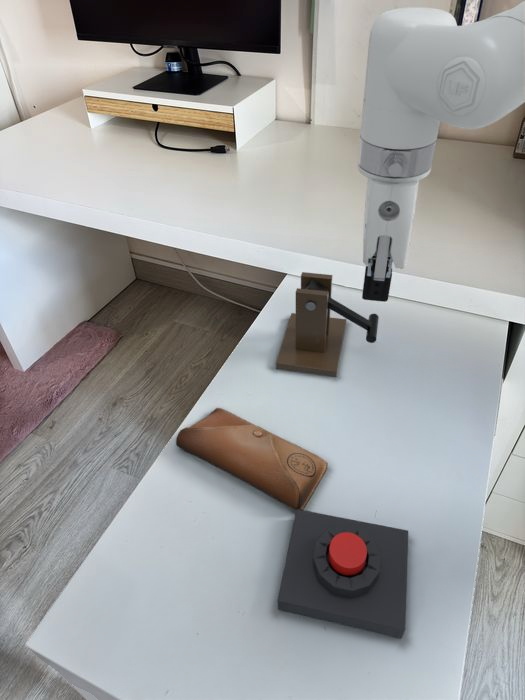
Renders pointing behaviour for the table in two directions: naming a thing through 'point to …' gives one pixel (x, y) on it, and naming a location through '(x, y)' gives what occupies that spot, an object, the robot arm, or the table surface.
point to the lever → (350, 313)
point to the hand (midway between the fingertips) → (374, 296)
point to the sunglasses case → (255, 457)
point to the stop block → (346, 591)
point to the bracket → (312, 332)
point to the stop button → (347, 553)
